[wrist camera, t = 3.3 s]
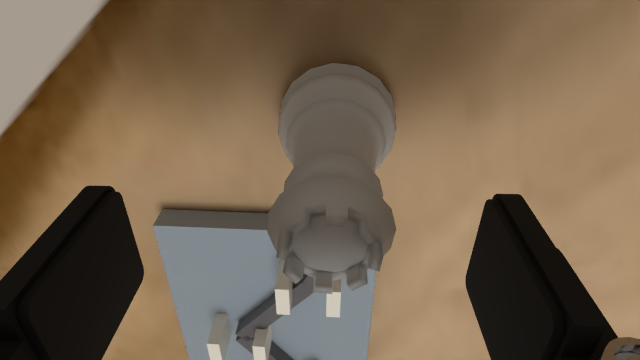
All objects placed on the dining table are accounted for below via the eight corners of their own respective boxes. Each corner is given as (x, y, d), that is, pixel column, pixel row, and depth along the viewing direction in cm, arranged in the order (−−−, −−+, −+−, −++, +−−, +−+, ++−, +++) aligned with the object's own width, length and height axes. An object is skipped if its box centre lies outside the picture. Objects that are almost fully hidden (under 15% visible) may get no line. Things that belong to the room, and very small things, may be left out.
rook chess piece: (369, 176, 18) (380, 336, 11) (268, 144, 18) (218, 293, 11) (414, 81, 16) (462, 213, 9) (299, 41, 15) (259, 150, 8)
